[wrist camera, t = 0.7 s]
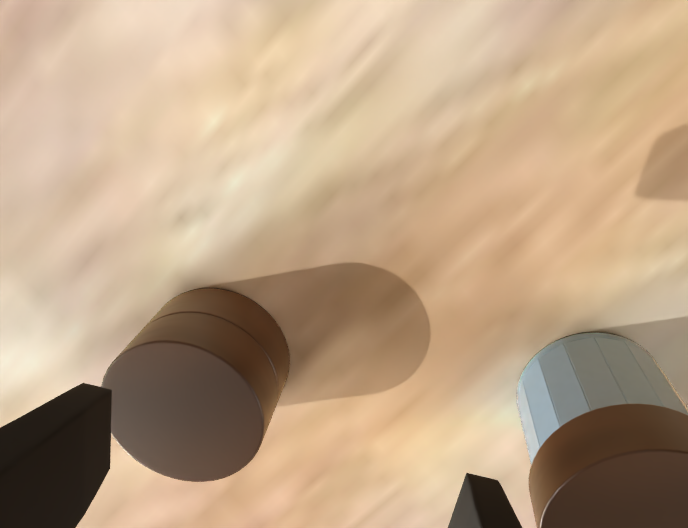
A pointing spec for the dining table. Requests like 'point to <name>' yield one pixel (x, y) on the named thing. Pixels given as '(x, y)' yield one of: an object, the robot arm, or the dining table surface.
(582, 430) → the top chip
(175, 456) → the middle chip
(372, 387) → the dining table surface
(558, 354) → the cup
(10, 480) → the robot arm
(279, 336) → the base chip
